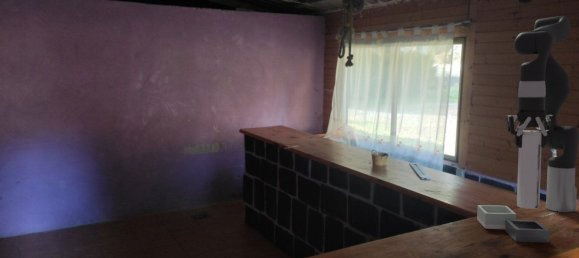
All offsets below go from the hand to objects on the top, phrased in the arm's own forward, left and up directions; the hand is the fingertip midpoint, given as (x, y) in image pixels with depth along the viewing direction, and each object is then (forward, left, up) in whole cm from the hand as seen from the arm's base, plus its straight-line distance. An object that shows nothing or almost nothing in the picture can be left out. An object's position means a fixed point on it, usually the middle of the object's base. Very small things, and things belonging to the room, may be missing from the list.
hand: (529, 147), depth 140 cm
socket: (0, 0, -30) cm, 30 cm away
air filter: (0, 0, -20) cm, 20 cm away
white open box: (+6, -12, -30) cm, 33 cm away
